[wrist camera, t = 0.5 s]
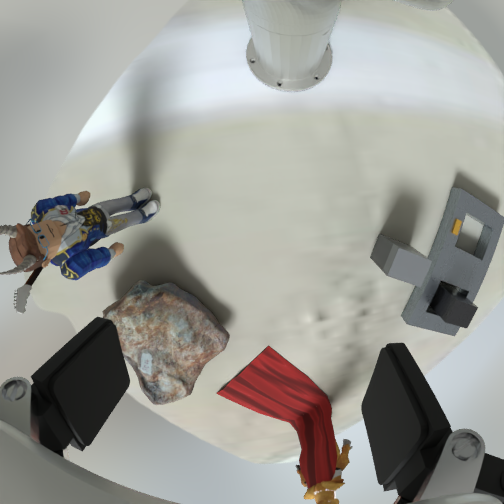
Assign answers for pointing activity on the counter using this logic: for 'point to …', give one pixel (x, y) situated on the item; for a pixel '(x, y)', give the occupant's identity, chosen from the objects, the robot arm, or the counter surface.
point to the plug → (400, 260)
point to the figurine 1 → (72, 235)
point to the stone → (166, 338)
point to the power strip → (454, 268)
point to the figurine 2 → (295, 419)
